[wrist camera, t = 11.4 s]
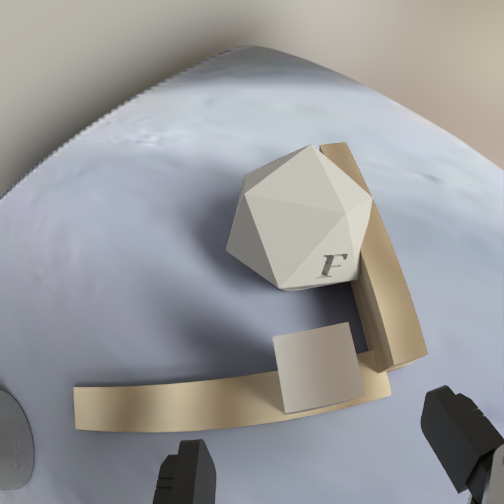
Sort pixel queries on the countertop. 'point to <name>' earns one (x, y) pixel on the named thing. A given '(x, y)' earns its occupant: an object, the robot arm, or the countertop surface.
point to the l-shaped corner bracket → (286, 358)
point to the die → (300, 222)
